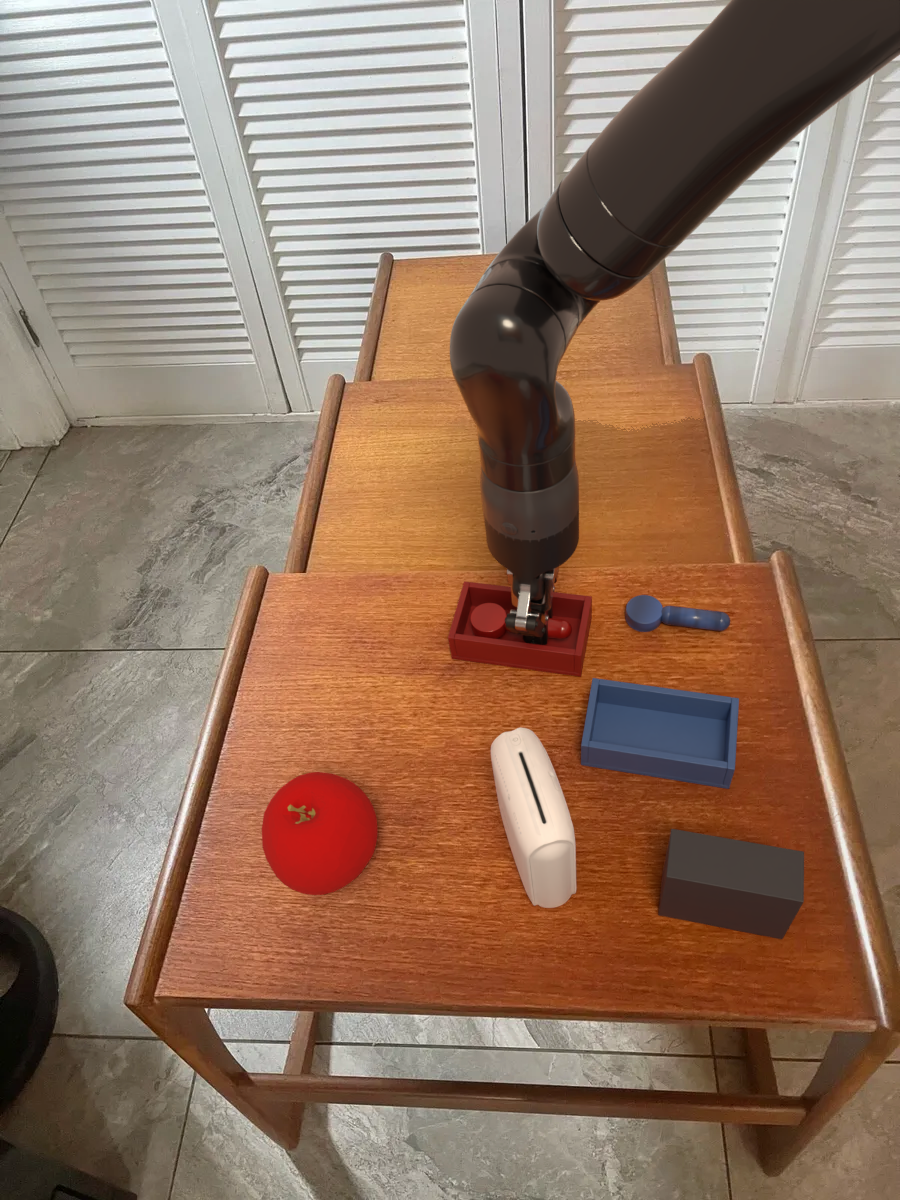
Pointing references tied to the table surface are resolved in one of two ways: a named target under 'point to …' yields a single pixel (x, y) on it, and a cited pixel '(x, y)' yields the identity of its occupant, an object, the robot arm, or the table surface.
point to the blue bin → (661, 732)
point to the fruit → (319, 833)
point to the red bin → (510, 646)
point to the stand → (731, 883)
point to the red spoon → (492, 624)
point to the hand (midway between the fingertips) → (538, 630)
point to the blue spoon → (671, 616)
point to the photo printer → (535, 817)
